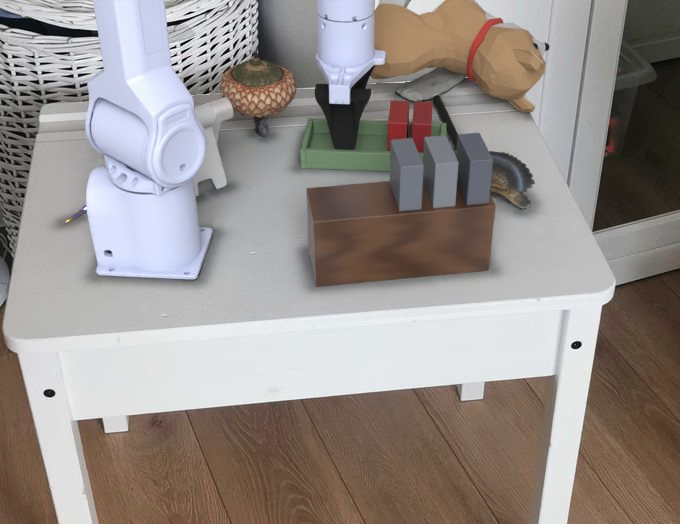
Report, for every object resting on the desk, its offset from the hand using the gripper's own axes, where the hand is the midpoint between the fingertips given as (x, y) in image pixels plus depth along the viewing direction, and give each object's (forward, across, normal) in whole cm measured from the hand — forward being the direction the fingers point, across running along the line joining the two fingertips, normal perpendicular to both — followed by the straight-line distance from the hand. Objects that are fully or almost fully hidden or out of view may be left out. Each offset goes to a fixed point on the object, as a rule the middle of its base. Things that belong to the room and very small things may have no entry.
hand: (346, 135), depth 106 cm
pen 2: (+2, +5, -11) cm, 12 cm away
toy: (-5, +20, -4) cm, 21 cm away
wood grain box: (+2, -20, -6) cm, 21 cm away
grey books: (-5, -19, -10) cm, 22 cm away
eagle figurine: (+2, -9, -14) cm, 17 cm away
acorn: (+2, +3, +10) cm, 11 cm away
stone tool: (+2, +19, -7) cm, 20 cm away
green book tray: (+2, 0, -3) cm, 4 cm away
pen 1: (+1, -11, +22) cm, 24 cm away
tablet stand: (+2, -6, +16) cm, 17 cm away
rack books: (+1, 0, -7) cm, 7 cm away
